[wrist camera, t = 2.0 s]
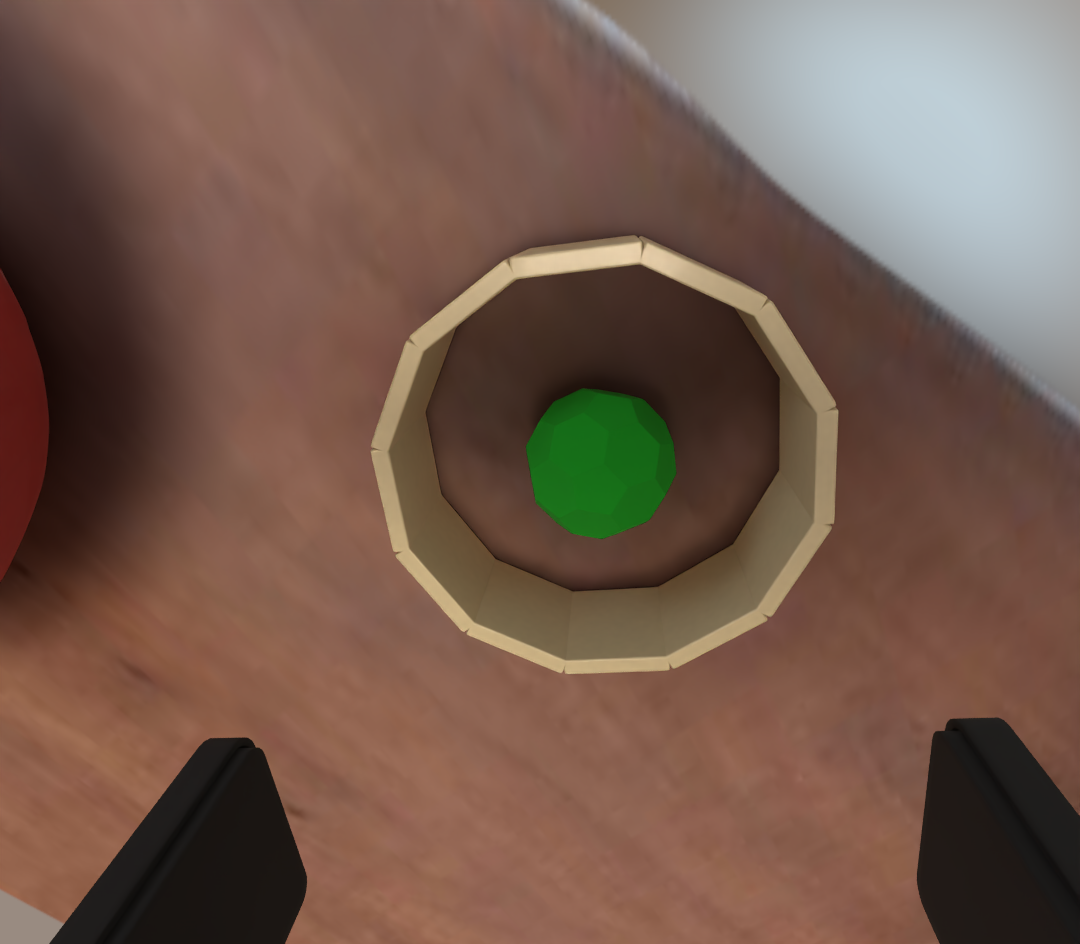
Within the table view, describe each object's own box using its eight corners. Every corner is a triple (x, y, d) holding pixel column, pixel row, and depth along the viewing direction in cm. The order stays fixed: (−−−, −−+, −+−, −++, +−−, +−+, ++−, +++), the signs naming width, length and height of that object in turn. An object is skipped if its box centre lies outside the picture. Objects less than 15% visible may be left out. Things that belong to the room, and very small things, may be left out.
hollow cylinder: (799, 213, 21) (846, 214, 17) (794, 592, 26) (829, 665, 22) (381, 266, 23) (329, 279, 19) (450, 609, 28) (421, 680, 24)
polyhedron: (569, 519, 26) (560, 584, 21) (510, 409, 24) (487, 454, 20) (690, 469, 24) (708, 526, 20) (635, 350, 23) (641, 383, 19)
